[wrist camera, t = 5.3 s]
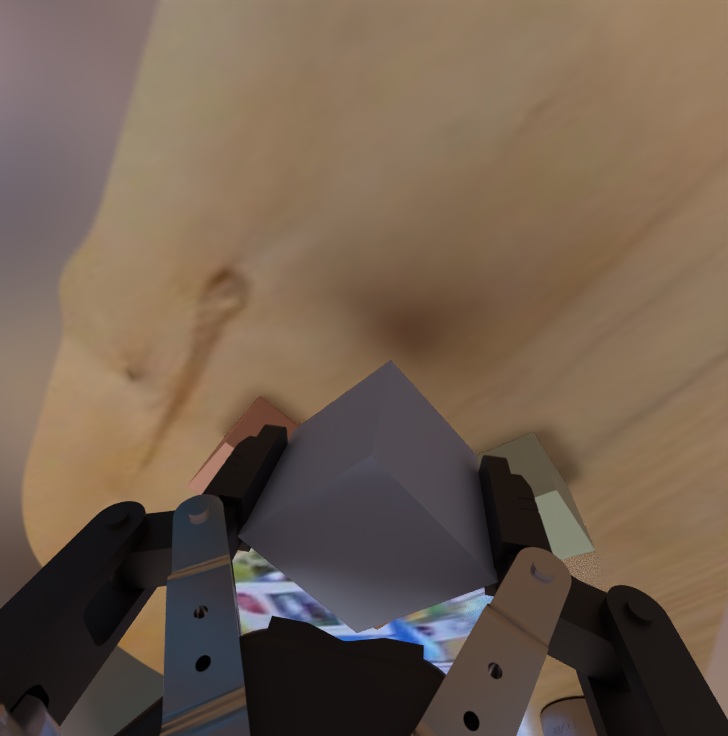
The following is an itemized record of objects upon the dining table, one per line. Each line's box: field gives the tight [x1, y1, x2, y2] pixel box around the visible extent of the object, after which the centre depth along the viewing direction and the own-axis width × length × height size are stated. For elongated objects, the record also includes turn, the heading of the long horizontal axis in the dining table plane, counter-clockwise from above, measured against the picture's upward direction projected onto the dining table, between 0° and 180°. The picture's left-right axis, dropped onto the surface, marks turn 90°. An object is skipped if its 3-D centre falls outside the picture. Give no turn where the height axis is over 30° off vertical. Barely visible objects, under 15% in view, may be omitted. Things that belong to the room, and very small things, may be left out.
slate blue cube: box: [238, 360, 498, 633], centre depth 12 cm, size 5×5×5 cm
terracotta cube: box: [187, 397, 299, 495], centre depth 25 cm, size 5×5×5 cm
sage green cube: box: [477, 432, 596, 560], centre depth 23 cm, size 5×5×5 cm
